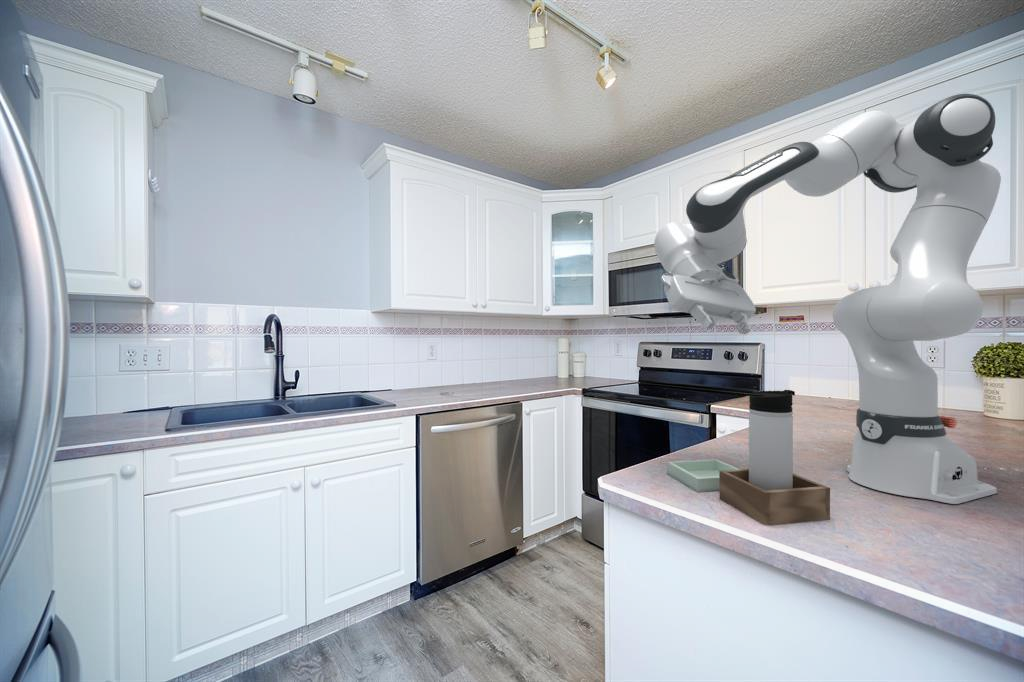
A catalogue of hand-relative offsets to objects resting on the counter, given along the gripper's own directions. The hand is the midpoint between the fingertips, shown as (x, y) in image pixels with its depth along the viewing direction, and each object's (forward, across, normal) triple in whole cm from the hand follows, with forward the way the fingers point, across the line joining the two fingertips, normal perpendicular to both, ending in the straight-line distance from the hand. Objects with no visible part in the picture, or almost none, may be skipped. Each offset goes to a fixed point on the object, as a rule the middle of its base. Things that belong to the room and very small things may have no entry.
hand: (728, 329), depth 79 cm
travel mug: (+30, +2, +12) cm, 32 cm away
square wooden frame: (+30, +2, +12) cm, 32 cm away
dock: (+21, +3, +23) cm, 31 cm away
